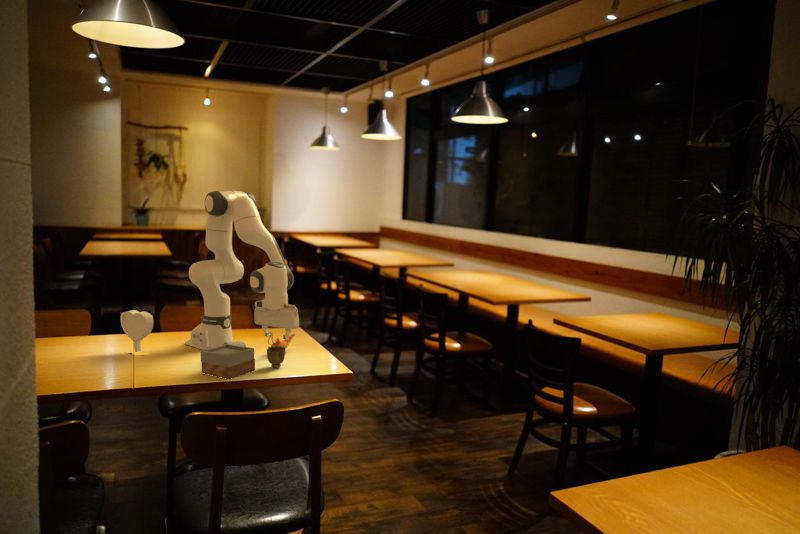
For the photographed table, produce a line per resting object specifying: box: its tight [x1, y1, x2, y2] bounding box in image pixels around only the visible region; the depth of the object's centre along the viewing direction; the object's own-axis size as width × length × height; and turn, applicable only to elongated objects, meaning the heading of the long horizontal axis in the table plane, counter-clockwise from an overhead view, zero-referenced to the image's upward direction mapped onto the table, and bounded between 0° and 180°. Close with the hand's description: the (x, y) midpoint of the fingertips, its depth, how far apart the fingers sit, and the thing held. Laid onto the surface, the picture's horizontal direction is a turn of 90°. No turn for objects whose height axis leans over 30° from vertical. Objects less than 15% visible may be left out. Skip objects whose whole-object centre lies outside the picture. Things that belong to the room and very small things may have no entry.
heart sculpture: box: [119, 309, 154, 352], centre depth 253 cm, size 16×5×18 cm, turn 65°
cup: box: [266, 345, 287, 369], centre depth 238 cm, size 8×7×8 cm
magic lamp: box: [267, 331, 296, 349], centre depth 259 cm, size 7×18×11 cm, turn 151°
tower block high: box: [200, 344, 255, 367], centre depth 230 cm, size 14×14×4 cm
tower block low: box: [201, 358, 256, 380], centre depth 231 cm, size 14×14×5 cm
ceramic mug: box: [223, 340, 247, 347], centre depth 250 cm, size 11×8×8 cm
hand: (276, 337), depth 237 cm, fingers open, 8 cm apart
